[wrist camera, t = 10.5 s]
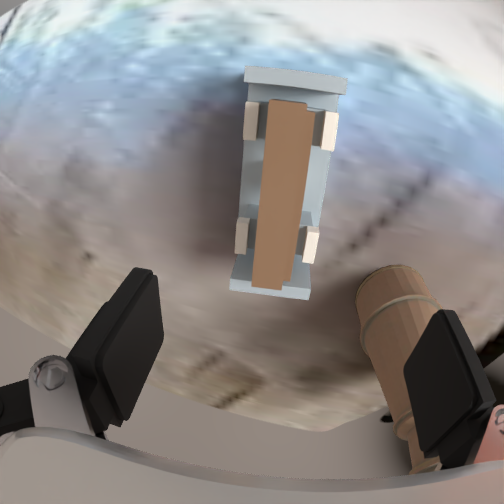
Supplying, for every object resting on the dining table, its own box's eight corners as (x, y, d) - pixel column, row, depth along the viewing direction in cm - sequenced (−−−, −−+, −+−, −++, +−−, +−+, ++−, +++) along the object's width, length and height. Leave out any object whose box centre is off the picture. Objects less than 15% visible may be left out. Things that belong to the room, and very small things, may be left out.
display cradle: (252, 72, 25) (237, 65, 19) (337, 83, 25) (354, 79, 18) (238, 246, 34) (224, 288, 28) (310, 256, 34) (314, 300, 27)
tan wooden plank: (272, 98, 22) (268, 99, 18) (311, 103, 22) (317, 105, 18) (257, 255, 29) (250, 286, 25) (290, 259, 29) (289, 291, 24)
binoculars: (336, 293, 36) (358, 507, 14) (406, 246, 32) (501, 450, 10) (405, 373, 42) (433, 519, 20) (459, 341, 38) (510, 484, 16)
